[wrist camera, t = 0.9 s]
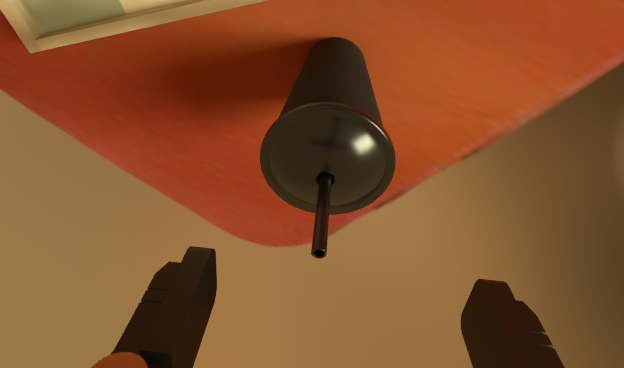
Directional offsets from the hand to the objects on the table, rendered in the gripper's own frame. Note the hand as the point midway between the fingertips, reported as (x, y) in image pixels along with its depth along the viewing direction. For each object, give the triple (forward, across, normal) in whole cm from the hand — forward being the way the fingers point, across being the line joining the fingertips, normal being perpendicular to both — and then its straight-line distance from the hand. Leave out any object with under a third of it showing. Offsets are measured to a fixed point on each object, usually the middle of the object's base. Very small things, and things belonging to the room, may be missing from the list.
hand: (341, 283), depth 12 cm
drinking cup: (+24, 0, 0) cm, 24 cm away
